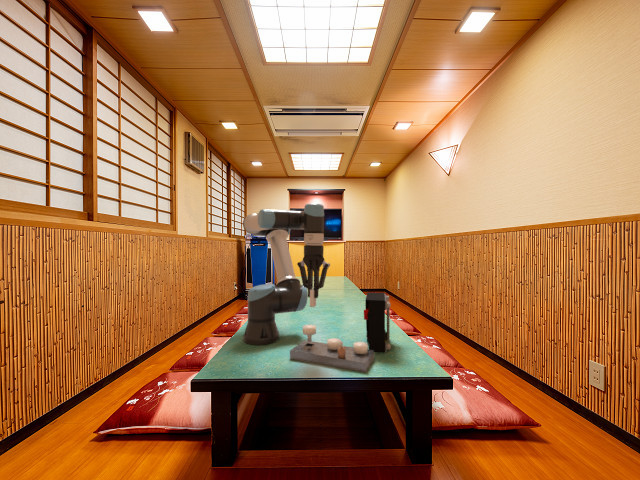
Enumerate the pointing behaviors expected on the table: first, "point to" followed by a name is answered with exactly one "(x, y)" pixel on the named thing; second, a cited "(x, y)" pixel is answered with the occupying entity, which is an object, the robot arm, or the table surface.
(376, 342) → the electrical component
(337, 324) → the table surface
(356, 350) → the knob outer
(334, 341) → the knob mid
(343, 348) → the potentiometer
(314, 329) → the knob
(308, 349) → the plate
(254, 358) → the table surface
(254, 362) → the table surface
